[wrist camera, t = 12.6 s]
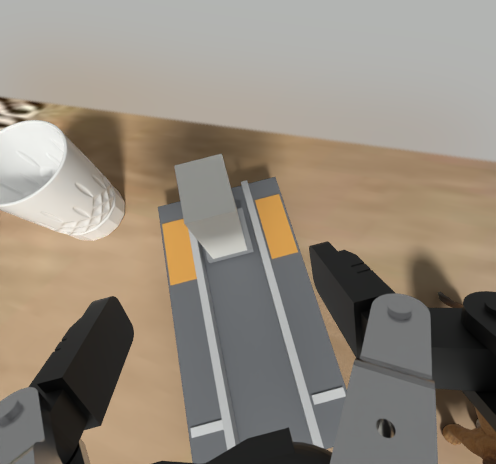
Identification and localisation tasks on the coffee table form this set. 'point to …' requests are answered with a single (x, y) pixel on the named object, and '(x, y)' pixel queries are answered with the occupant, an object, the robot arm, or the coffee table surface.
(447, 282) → the coffee table surface
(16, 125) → the white cup
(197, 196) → the fader knob
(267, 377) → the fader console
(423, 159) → the coffee table surface
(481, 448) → the lion figurine
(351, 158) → the coffee table surface
